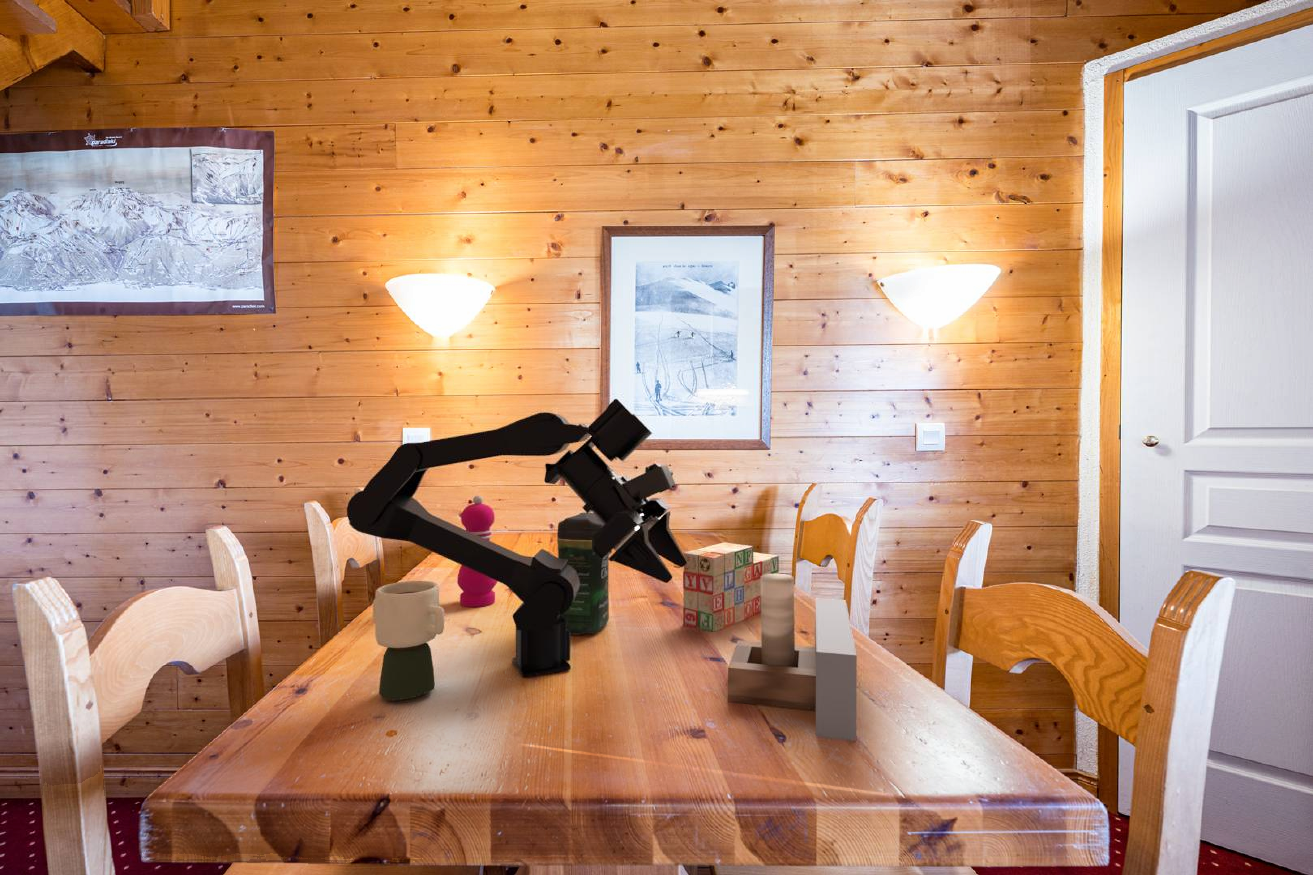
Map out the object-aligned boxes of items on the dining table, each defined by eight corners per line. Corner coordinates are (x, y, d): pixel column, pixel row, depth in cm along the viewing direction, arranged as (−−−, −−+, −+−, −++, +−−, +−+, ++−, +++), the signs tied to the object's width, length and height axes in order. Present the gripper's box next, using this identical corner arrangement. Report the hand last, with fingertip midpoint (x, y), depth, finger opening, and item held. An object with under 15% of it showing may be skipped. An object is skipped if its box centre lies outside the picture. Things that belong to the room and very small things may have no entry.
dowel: (788, 692, 74) (786, 583, 74) (757, 685, 76) (755, 579, 76) (799, 679, 78) (798, 575, 77) (769, 673, 80) (767, 572, 79)
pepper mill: (482, 595, 121) (482, 492, 121) (505, 602, 117) (506, 495, 117) (449, 603, 116) (449, 495, 116) (472, 610, 111) (472, 498, 111)
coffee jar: (598, 638, 97) (598, 518, 96) (549, 634, 98) (550, 516, 98) (614, 619, 106) (615, 510, 106) (570, 616, 108) (570, 509, 107)
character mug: (463, 691, 77) (463, 585, 76) (419, 715, 70) (420, 599, 70) (396, 676, 81) (397, 576, 81) (349, 698, 74) (350, 589, 74)
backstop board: (815, 737, 65) (816, 651, 65) (815, 662, 87) (815, 597, 87) (856, 742, 64) (856, 655, 64) (845, 665, 86) (845, 599, 86)
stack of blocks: (750, 599, 120) (751, 535, 120) (779, 605, 116) (780, 539, 116) (682, 625, 104) (682, 551, 104) (713, 633, 100) (713, 556, 100)
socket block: (727, 701, 74) (728, 667, 73) (737, 670, 83) (737, 640, 83) (815, 710, 71) (815, 675, 71) (815, 677, 81) (815, 646, 81)
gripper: (617, 444, 74) (710, 542, 71) (655, 442, 92) (730, 520, 89) (554, 509, 75) (642, 607, 73) (604, 494, 94) (676, 572, 91)
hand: (677, 572), depth 81 cm, fingers open, 9 cm apart
